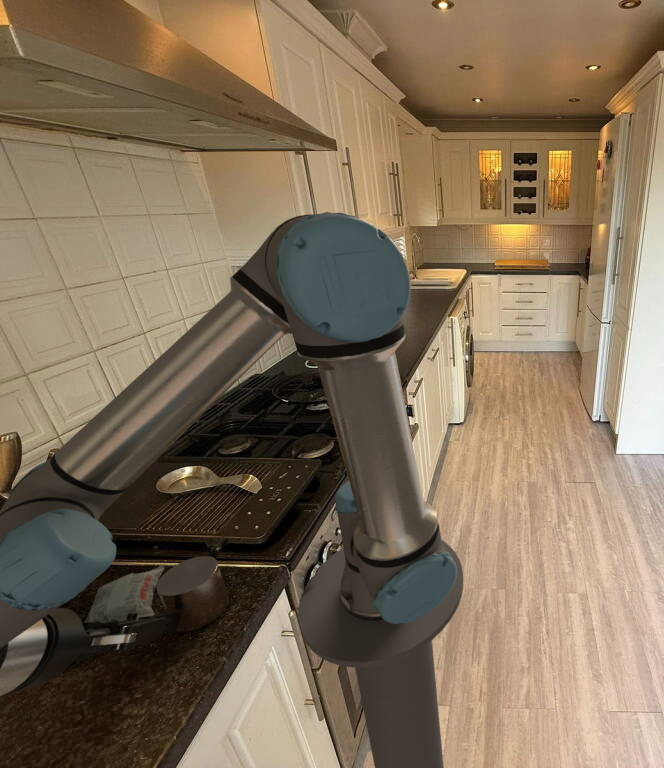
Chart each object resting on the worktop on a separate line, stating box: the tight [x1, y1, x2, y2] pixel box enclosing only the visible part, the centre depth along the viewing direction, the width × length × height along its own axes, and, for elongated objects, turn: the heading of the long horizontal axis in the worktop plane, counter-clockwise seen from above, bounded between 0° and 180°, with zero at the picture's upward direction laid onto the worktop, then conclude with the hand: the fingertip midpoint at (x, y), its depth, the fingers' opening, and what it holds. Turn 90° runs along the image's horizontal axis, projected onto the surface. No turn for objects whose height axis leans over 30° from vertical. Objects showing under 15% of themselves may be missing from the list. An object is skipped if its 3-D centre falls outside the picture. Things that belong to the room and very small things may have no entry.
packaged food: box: [84, 565, 165, 622], centre depth 68 cm, size 9×12×5 cm
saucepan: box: [156, 535, 230, 633], centre depth 71 cm, size 8×15×8 cm, turn 7°
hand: (174, 622), depth 63 cm, fingers closed
